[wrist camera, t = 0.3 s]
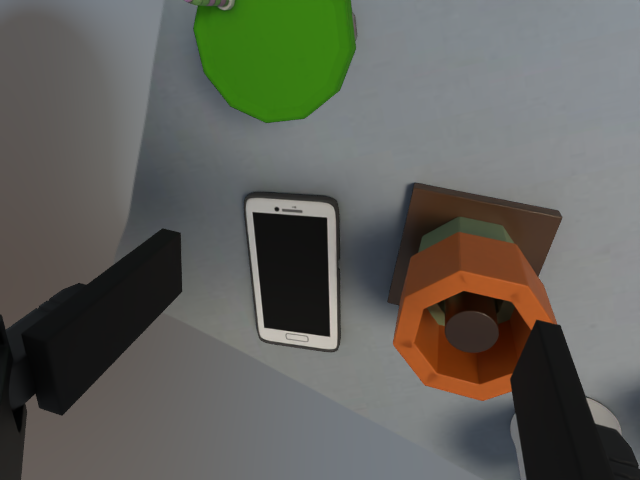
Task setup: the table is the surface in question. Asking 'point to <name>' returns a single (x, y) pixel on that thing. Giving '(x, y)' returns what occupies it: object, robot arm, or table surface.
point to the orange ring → (476, 277)
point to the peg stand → (445, 205)
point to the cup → (275, 53)
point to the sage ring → (474, 228)
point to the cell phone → (295, 269)
